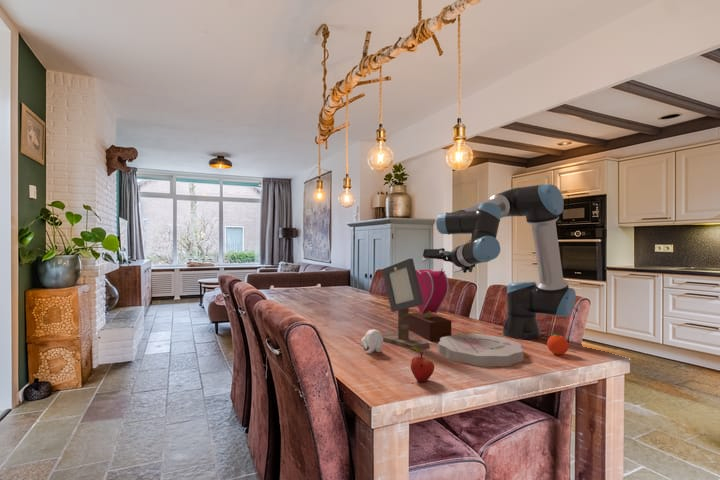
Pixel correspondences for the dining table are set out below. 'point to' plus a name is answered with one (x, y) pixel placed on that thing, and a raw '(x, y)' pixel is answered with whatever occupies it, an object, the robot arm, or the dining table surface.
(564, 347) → the clementine
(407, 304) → the picture frame
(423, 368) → the apple
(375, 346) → the white animal figurine
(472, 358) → the decorative plaque
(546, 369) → the dining table surface
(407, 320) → the display stand
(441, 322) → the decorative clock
